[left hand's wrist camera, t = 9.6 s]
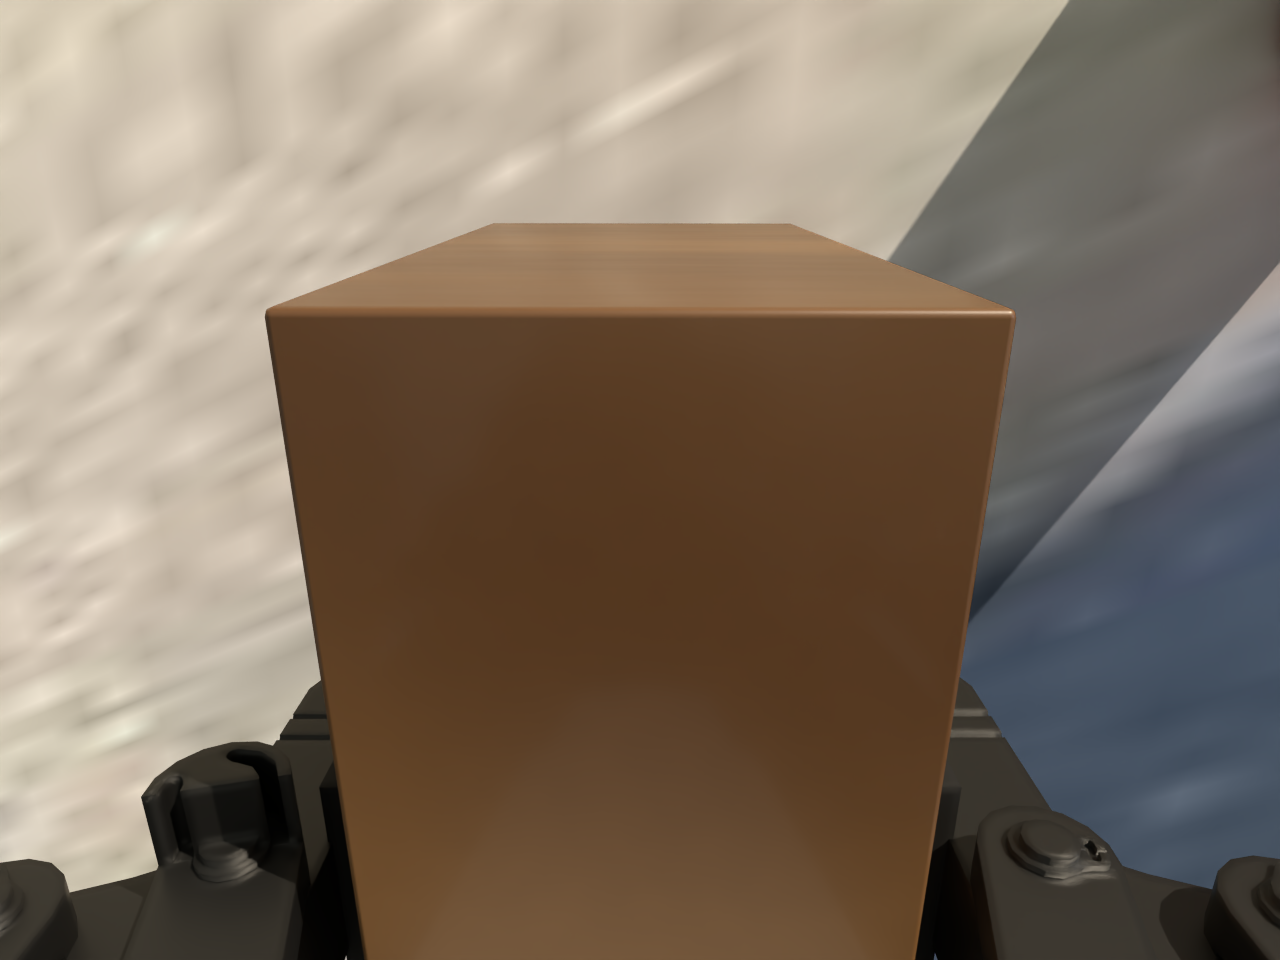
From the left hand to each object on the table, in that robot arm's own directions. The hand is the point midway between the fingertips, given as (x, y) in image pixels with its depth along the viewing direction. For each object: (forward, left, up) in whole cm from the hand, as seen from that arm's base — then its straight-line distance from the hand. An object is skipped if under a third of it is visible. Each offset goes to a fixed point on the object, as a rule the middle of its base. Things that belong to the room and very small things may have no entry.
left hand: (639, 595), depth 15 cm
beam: (+10, +31, -1) cm, 32 cm away
